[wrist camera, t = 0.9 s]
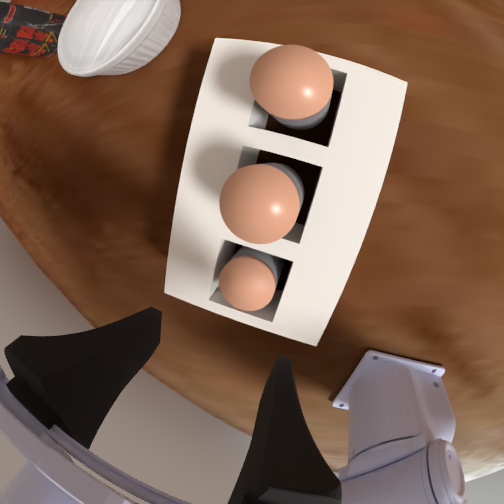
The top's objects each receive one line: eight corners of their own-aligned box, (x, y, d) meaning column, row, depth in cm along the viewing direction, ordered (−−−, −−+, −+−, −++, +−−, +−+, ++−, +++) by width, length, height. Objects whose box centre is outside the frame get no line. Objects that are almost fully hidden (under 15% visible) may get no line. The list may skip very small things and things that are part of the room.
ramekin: (193, 64, 17) (158, 44, 12) (91, 99, 20) (51, 95, 15) (194, -29, 13) (168, -56, 9) (100, 12, 16) (66, -1, 11)
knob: (335, 83, 13) (340, 55, 8) (321, 137, 14) (322, 128, 10) (277, 69, 13) (260, 39, 9) (262, 121, 14) (240, 108, 10)
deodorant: (37, 58, 19) (-54, 56, 5) (53, 19, 17) (-33, 6, 3) (57, 57, 19) (-47, 50, 5) (76, 14, 16) (-21, -8, 3)
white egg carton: (388, 98, 15) (410, 80, 10) (318, 311, 21) (315, 351, 17) (237, 60, 16) (212, 35, 12) (190, 268, 23) (160, 295, 18)
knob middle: (311, 172, 15) (309, 177, 10) (295, 228, 16) (285, 254, 12) (253, 156, 15) (228, 155, 11) (240, 211, 16) (212, 230, 12)
